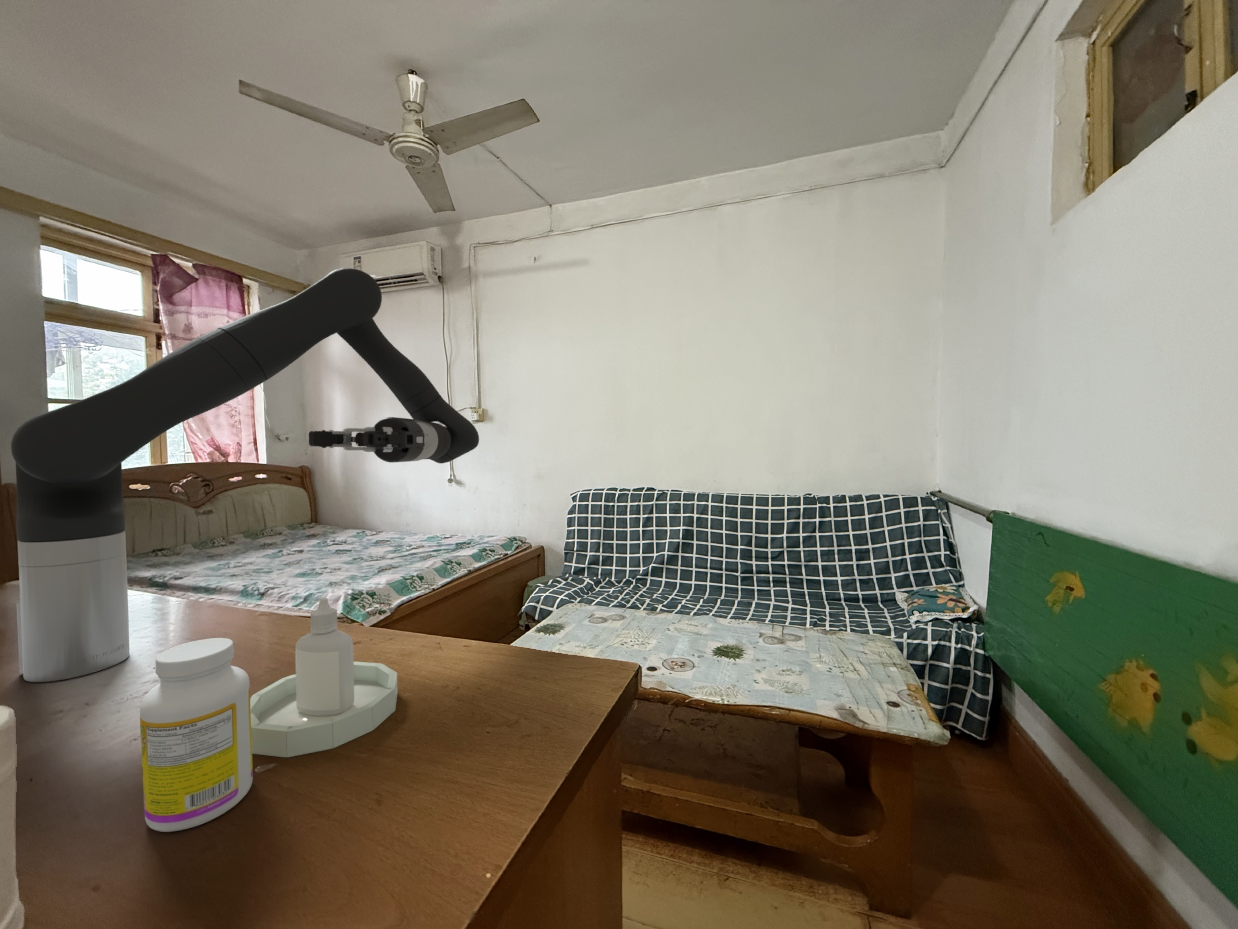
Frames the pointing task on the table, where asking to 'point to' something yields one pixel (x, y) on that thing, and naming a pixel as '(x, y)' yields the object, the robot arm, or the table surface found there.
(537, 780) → the table surface
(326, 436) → the robot arm
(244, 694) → the supplement bottle
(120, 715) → the table surface
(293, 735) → the dish
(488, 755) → the table surface
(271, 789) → the table surface
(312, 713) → the eye dropper bottle
